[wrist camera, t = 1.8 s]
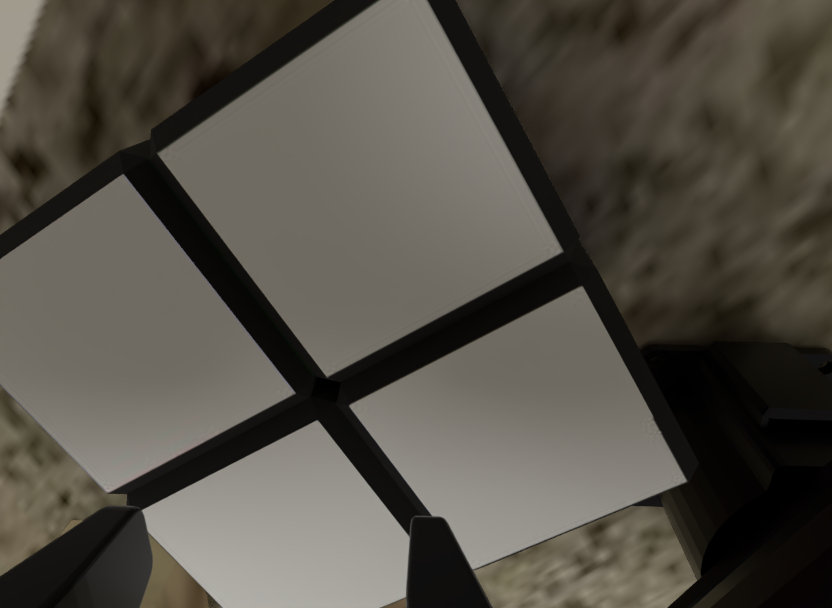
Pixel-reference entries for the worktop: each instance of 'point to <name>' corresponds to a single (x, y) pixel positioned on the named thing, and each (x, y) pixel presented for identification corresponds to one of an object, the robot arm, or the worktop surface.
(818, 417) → the robot arm
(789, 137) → the worktop surface
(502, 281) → the puzzle cube
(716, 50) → the worktop surface
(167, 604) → the maple block
